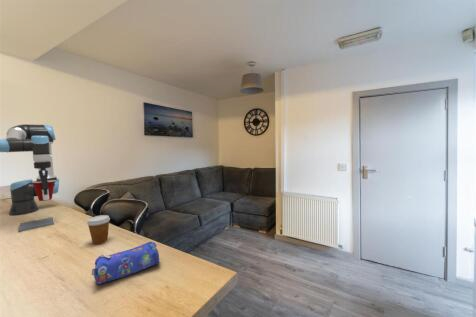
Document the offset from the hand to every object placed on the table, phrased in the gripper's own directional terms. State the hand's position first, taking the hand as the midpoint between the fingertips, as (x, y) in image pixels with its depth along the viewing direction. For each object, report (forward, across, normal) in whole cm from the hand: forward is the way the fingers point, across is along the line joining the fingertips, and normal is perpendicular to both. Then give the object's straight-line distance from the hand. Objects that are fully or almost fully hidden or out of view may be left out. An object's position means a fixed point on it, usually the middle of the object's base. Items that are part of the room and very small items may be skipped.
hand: (45, 198), depth 127 cm
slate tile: (+17, +4, +5) cm, 18 cm away
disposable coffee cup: (+16, -52, -17) cm, 57 cm away
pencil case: (+15, -90, -18) cm, 93 cm away
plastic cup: (+1, 0, 0) cm, 1 cm away
